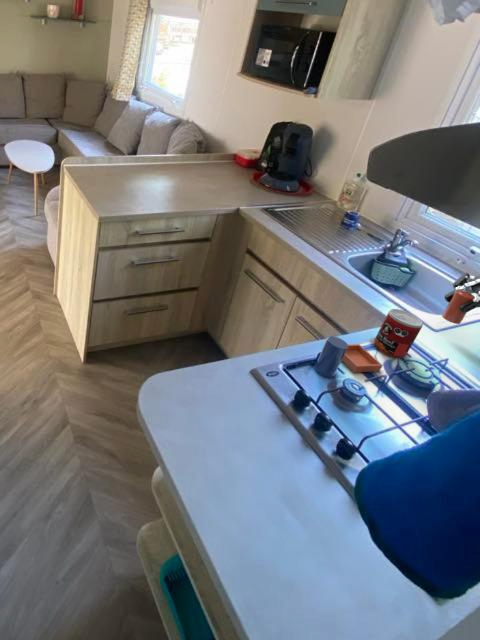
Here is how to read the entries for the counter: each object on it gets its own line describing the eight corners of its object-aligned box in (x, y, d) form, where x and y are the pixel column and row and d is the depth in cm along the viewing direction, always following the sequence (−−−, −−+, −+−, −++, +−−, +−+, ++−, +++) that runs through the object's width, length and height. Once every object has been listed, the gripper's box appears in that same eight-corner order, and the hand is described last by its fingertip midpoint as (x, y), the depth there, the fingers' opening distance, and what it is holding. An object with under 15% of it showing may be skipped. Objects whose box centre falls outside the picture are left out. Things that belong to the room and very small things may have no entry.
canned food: (367, 339, 121) (383, 307, 117) (392, 340, 122) (408, 309, 118) (385, 357, 114) (403, 325, 110) (412, 359, 115) (430, 327, 111)
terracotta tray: (379, 371, 108) (382, 365, 108) (353, 372, 107) (356, 366, 106) (356, 349, 115) (359, 344, 115) (332, 350, 114) (334, 344, 113)
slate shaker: (338, 377, 104) (352, 348, 100) (322, 377, 103) (336, 349, 99) (326, 363, 108) (339, 335, 104) (310, 364, 107) (323, 336, 103)
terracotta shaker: (464, 324, 125) (479, 298, 122) (452, 324, 124) (467, 298, 121) (449, 314, 130) (463, 289, 126) (438, 314, 128) (452, 289, 125)
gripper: (485, 253, 126) (430, 283, 130) (532, 278, 113) (470, 311, 117) (491, 270, 129) (437, 299, 133) (539, 296, 116) (477, 328, 120)
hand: (453, 304), depth 125 cm, fingers closed on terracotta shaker, 4 cm apart
